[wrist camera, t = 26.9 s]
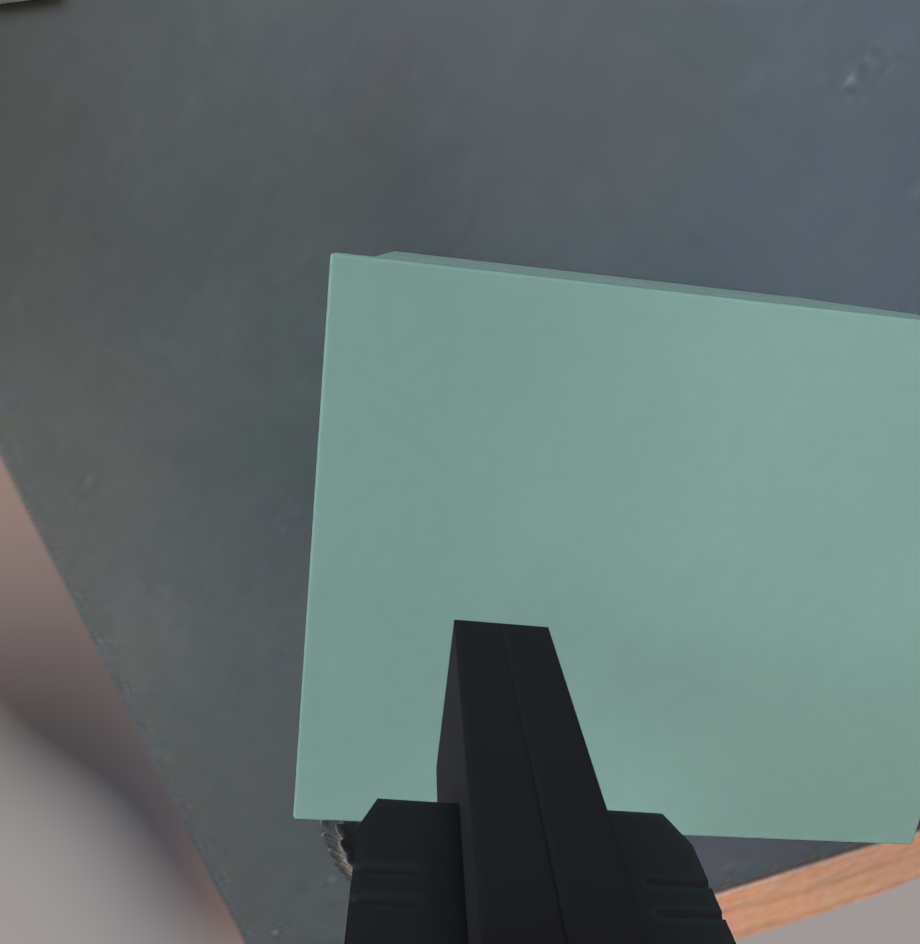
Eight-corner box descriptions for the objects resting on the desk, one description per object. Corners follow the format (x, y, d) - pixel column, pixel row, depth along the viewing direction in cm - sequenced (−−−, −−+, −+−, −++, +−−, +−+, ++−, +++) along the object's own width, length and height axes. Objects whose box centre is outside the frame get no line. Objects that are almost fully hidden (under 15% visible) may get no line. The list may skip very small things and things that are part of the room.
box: (364, 582, 34) (330, 786, 21) (392, 250, 30) (373, 255, 18) (721, 612, 35) (893, 822, 22) (789, 296, 32) (1041, 332, 19)
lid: (296, 797, 21) (292, 820, 20) (333, 251, 17) (330, 252, 16) (894, 823, 22) (913, 845, 22) (1043, 332, 19) (1072, 336, 18)
